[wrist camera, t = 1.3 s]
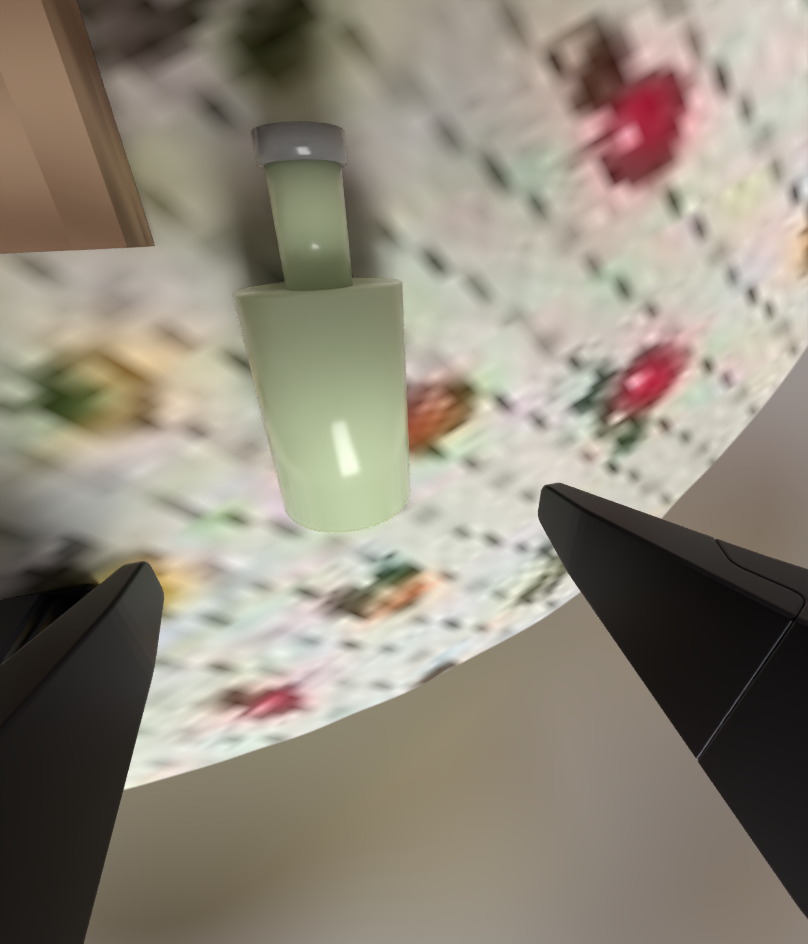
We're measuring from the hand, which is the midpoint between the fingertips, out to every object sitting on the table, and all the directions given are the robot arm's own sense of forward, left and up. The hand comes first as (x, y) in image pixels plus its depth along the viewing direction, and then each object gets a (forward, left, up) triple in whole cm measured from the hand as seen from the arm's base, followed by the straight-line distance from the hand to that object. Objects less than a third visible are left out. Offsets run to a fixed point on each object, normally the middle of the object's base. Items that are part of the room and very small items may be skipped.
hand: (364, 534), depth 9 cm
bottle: (+2, 0, -12) cm, 12 cm away
